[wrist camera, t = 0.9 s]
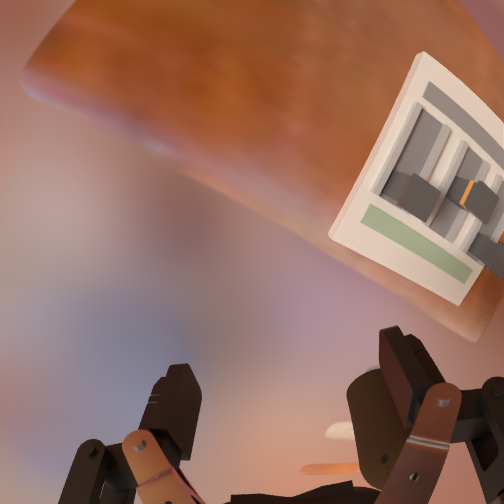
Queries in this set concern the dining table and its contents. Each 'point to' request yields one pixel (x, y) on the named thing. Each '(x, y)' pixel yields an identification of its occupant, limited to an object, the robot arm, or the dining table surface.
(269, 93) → the dining table surface
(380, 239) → the switch board
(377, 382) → the olive oil
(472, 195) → the breaker handle
